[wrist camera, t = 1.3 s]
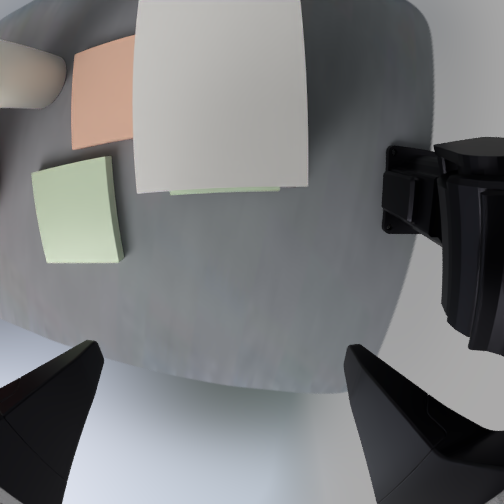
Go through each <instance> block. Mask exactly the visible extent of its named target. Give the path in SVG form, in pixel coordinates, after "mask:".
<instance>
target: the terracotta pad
mask: <svg viewBox="0 0 504 504" xmlns="http://www.w3.org/2000/svg"><path fill="white" fill-rule="evenodd" d="M134 44H135V35H132V36H128V37H125V38H121V39H118V40H114V41H111V42H108V43H105V44H102V45H99V46H96V47H93V48H90V49H88V50H85V51H82V52H80V53H77V54H75V57H74V67H73V81H72V105H71V128H72V150H77V149H83V148H87V147H92V146H96V145H101V144H106V143H111V142H117V141H122V140H128V139H133V106H132V97H133V61H134Z"/></svg>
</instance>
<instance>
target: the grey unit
mask: <svg viewBox="0 0 504 504" xmlns="http://www.w3.org/2000/svg"><path fill="white" fill-rule="evenodd" d="M132 106H133V144H134V161H135V175H136V187H137V194H139V193H150V192H162V191H170V195H181V194H199V193H220V192H252V191H280V188H296V187H308V110H307V84H306V64H305V49H304V35H303V23H302V12H301V2H300V0H139V5H138V13H137V22H136V32H135V44H134V61H133V97H132Z"/></svg>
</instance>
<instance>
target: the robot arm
mask: <svg viewBox="0 0 504 504" xmlns="http://www.w3.org/2000/svg"><path fill="white" fill-rule="evenodd" d="M393 149H394V150H395V155H394V156H393V155H392V150H393ZM434 150H435V152H432V151H427V150H421V149H415V148H408V147H401V146H389V147H388V148H387V150H386V171H385V173H384V174H383V193H382V208H383V219H382V229H383V231H385V232H386V233H388V234H422V235H424V236H426V237H427V238H429V239H430V240H432V241H433V242H435V243H437V244H438V245H440V246H441V247H442V250H443V251H442V254H443V274H442V300H441V304H442V306H443V308H444V311H445V313H446V315H447V316H448V318H447V322H448V323H449V324H450V325H451V326H452V327H453V328H454V329H455V330H457V331H459V332H460V333H462V334H464V335H465V336H467V337H470V340H469V344H468V348H469V349H470V350H480V351H489V352H493V353H496V354H499V355H502V356H504V138H499V137H498V138H497V137H480V138H473V139H466V140H460V141H454V142H448V143H442V144H436V145H434ZM388 224H390V228H389V229H387V225H388ZM103 364H104V358H103V355H102V352H101V350H100V347H99V345H98V343H97V342H96V341H92V340H86V341H84V342H82V343H81V344H79V345H77V346H75V347H73V348H72V349H70V350H68V351H66V352H65V353H63V354H61V355H59V356H57V357H56V358H54V359H52V360H50V361H49V362H47V363H45V364H43V365H41V366H40V367H38V368H36V369H34V370H33V371H31V372H29V373H27V374H25V375H24V376H22V377H21V378H18V379H17V380H15V381H13V382H11V383H9V384H7V385H6V386H4V387H2V388H0V504H62V501H63V497H64V492H65V488H66V485H67V482H66V481H67V480H68V476H69V473H70V469H71V465H72V462H73V459H74V455H75V452H76V449H77V446H78V442H79V439H80V436H81V433H82V430H83V427H84V424H85V421H86V419H87V416H88V413H89V410H90V408H91V405H92V402H93V399H94V396H95V393H96V390H97V386H98V382H99V379H100V374H101V371H102V367H103ZM344 372H345V377H346V383H347V388H348V394H349V400H350V405H351V409H352V412H353V416H354V419H355V423H356V426H357V430H358V433H359V437H360V440H361V444H362V447H363V451H364V455H365V458H366V461H367V466H368V470H369V473H370V477H371V481H372V485H373V489H374V493H375V497H376V501H377V504H504V431H493V430H489V429H486V428H483V427H481V426H480V425H478V424H476V423H474V422H472V421H470V420H469V419H467V418H465V417H463V416H461V415H460V414H458V413H456V412H455V411H453V410H451V409H450V408H448V407H446V406H445V405H443V404H442V403H440V402H439V401H437V400H436V399H434V398H433V397H432V396H430V395H428V394H427V393H426V392H425V391H423V390H422V389H421V388H419V387H418V386H416V385H415V384H414V383H412V382H411V381H410V380H408V379H407V378H406V377H404V376H403V375H401V374H400V373H399V372H397V371H396V370H395V369H393V368H392V367H391V366H389V365H388V364H386V363H385V362H384V361H382V360H381V359H380V358H378V357H377V356H376V355H374V354H373V353H371V352H370V351H369V350H367V349H366V348H365V347H363V346H362V345H360V344H354V345H349V346H348V348H347V351H346V356H345V360H344Z"/></svg>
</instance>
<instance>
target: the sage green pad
mask: <svg viewBox="0 0 504 504" xmlns="http://www.w3.org/2000/svg"><path fill="white" fill-rule="evenodd" d="M31 175H32V184H33V193H34V200H35V207H36V213H37V219H38V224H39V230H40V235H41V239H42V244H43V248H44V253H45V257H46V261H47V263H119V262H120V261H121V260H123V259H124V254H123V248H122V242H121V236H120V230H119V223H118V216H117V209H116V201H115V192H114V182H113V171H112V157H111V156H105V157H99V158H94V159H89V160H84V161H79V162H75V163H70V164H66V165H62V166H57V167H53V168H49V169H45V170H42V171H38V172H34V173H31Z"/></svg>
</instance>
